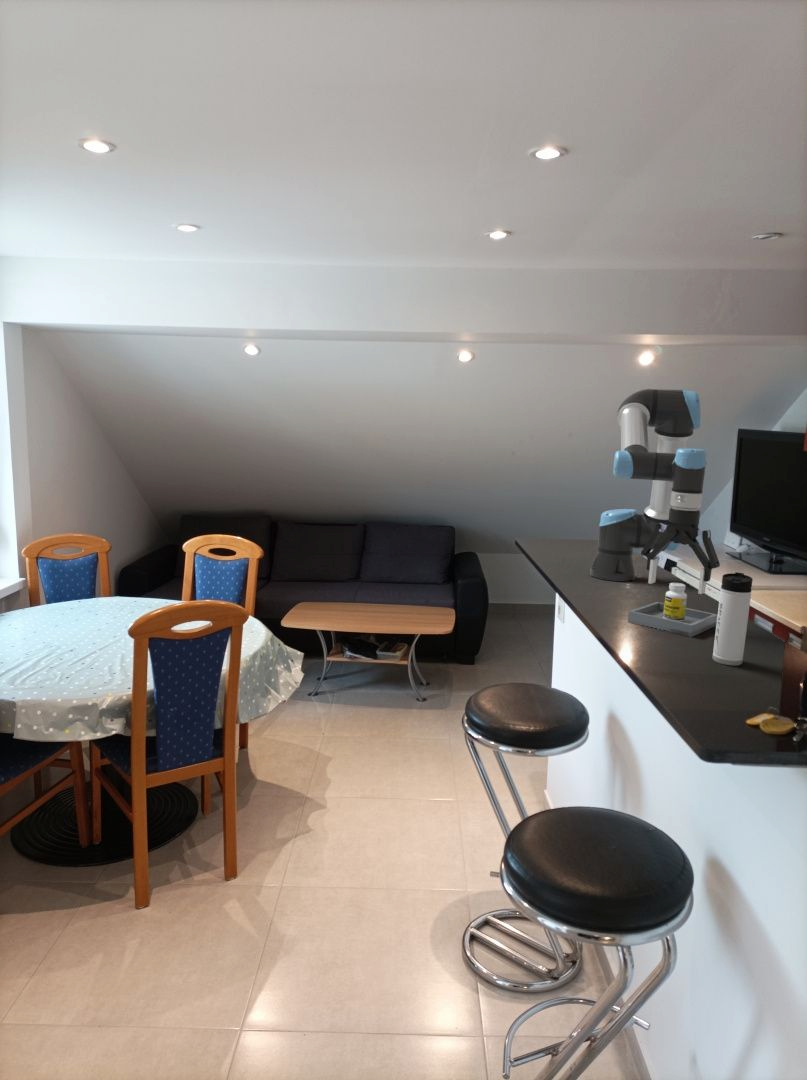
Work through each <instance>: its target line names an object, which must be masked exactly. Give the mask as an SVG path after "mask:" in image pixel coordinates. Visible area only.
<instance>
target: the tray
mask: <svg viewBox="0 0 807 1080" xmlns="http://www.w3.org/2000/svg"><path fill="white" fill-rule="evenodd" d="M664 604H665V602H660V601H655V602H652V603H650V604H647V605H643V606H639V607H637V608H634V609H631V610H629V611H628V615H627V616H628V618H627V623H629V622H631V623H630V624H633V623H635V625H638V624H639V626H642V625H644V626H643V627H646V626H649V627H648V628H650V627H653V628H652V629H654V628H657V629H656V630H659V629H661V630H660V631H663V630H666V631H665V632H667V631H669V632H668V633H671V632H673V634H675V633H678V634H677V635H680V634H681V636H684V637H689V638H693V637H695V636H696V635H699V634H701V633H704V632H705V631H708V630H710V629H713V628H716V624H717V616H718V613H713V612H712V613H711V612H708V611H702V610H699V609H693V608H688V607H686V611H685V619H684V621H683V622H679V621H674V620H670V619H665V618H663V613H664Z"/></svg>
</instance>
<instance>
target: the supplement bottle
mask: <svg viewBox="0 0 807 1080" xmlns="http://www.w3.org/2000/svg"><path fill="white" fill-rule="evenodd" d="M668 588H669V589H668V591H667V590H666V592H665V597H664V603H665V604H664V613H663V618H665V619H670V620H674V621H679V622H683V621H684V619H685V611H686V608H687V601H688V594H687V593H686V592H685V591H686V584H684V583H680V582H670V583H669V586H668Z"/></svg>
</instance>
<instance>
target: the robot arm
mask: <svg viewBox="0 0 807 1080" xmlns="http://www.w3.org/2000/svg"><path fill="white" fill-rule="evenodd" d="M700 400H701V399H700V395H699V393H697V391H694V390H684V389H654V388H645V389H640V390H638V391H635V392H633V393H631V395H629V396H628V397H626V398H625V399H623V401H622V403H621V404H620V405H619V407H618V410H617V415H616V417H617V420H616V421H617V423H618V426H619V427H620V450H617V451H616V452H615V453H614V460H613V471H612V473H613V475H614V477H616V478H620V479H626V480H645V481H646V480H649V481H652V486H651V494H650V500H649V505H648V506H646V507H645V508H644V510H643V514H638V510H636V509H635V508H630V509H629V508H619V509H609V510H606V511H603V512H602V513H601V514H600V522H599V525H598V527H599V532H598V541H597V550H596V551H597V552H596V555H595V557H594V559H593V561H592V564H591V566H590V571H589V574H590V576H591V577H593V578H596V579H601V580H607V581H614V582H630V581H629V580H632V581H634V580H633V579H635V580H636V576H637V573H636V572H637V571H636V565H635V562H634V559H633V555H634V554H633V552H634V549H639V550H640V549H641V552H640V554H641V556H644V557H646V558H647V560H646V570H647V571H649V572H648V581H647V584H650V585H651V584H654V583H656V580H657V579H656V577H657V569H658V562H659V561H658V560H659V559H658V558H656V557H657V556H658V555H659V554H660V553H661V552H673V551H675V550H677V549H678V548H679V546H680V545H685V546H687V545H688V547H689V548H691V549H692V551H693V552H694V554H695V556H696V557H697V560H699V562H700V563H701V565H702V567H703V568H701V569H700V575H699V583H698V589H697V590H698V591H697V593H698V594H700V595H702V594H705V593H706V589H707V583H708V582H710V581H711V577H712V570H713V569H716V568H719V567H720V566H721V563H720V561H719V558H718V555H717V551H716V549H715V547H714V545H713V542H712V536H711V535H712V534H711V533H712V532H711V530H710V529H706V530H705V529H703V530H701V529H699V525H700V518H701V517H700V516H701V511H700V510H699V509H701V508H702V501H703V500H702V499H703V488H704V480H705V474H706V466H707V454H708V453H707V451H706V450H705V449H700V448H689V447H687V442H688V439H690V438H692V436H694V431H695V430H698V429H700V426H701V416H702V415H701V401H700ZM650 427H651V428H653V427H654V433H655V435H656V436H657V437H658V438H657V439H658V440H657V448H656V452H655V451H654V452H652V451H650V450H649V449H650V448H649V447H650V446H649V434H648V428H650ZM698 536H699V537H700V539H701V540H702V544H703V546H704V549H705V551H704V549H702V547H701V545H700V542H699V541H698V539H697V537H698ZM705 552H706V553H705ZM706 554H707V555H706Z"/></svg>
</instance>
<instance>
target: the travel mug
mask: <svg viewBox="0 0 807 1080" xmlns="http://www.w3.org/2000/svg"><path fill="white" fill-rule="evenodd" d="M752 587H753V577H751V576H750V575H746V574H745V573H743V572H737V571H735V572H734V573H733V572H731V573H725V574H722V578H721V587H720V593H719V599H718V600H719V601H718V609H717V615H718V616H717V624H716V626H715V634H714V642H713V650H712V651H713V652H712V660H713V661H714V662H716V663H718V664H719V665H720V664H721V665H724V666H732V667H733V666H740V665H742V664H743V661H744V652H745V645H746V636H747V628H748V620H749V614H750V606H751V598H752Z"/></svg>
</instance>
